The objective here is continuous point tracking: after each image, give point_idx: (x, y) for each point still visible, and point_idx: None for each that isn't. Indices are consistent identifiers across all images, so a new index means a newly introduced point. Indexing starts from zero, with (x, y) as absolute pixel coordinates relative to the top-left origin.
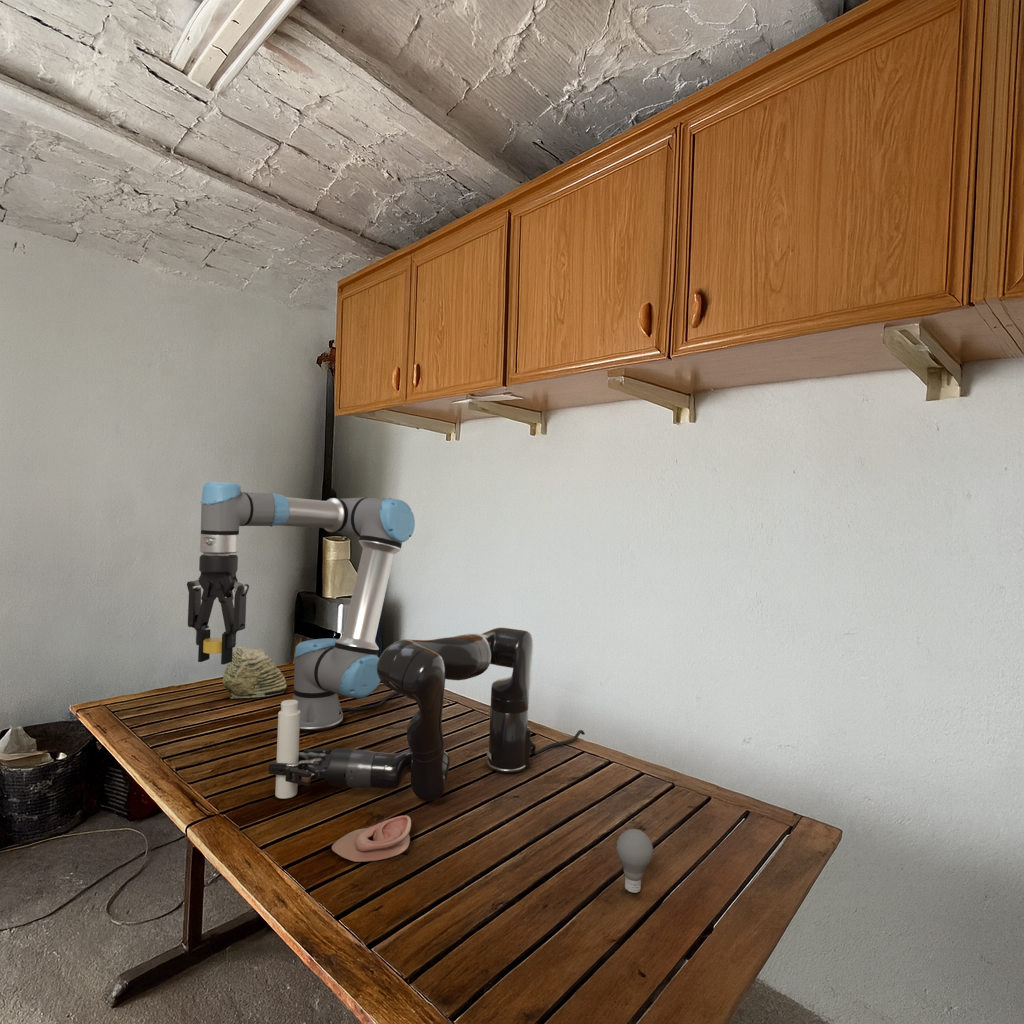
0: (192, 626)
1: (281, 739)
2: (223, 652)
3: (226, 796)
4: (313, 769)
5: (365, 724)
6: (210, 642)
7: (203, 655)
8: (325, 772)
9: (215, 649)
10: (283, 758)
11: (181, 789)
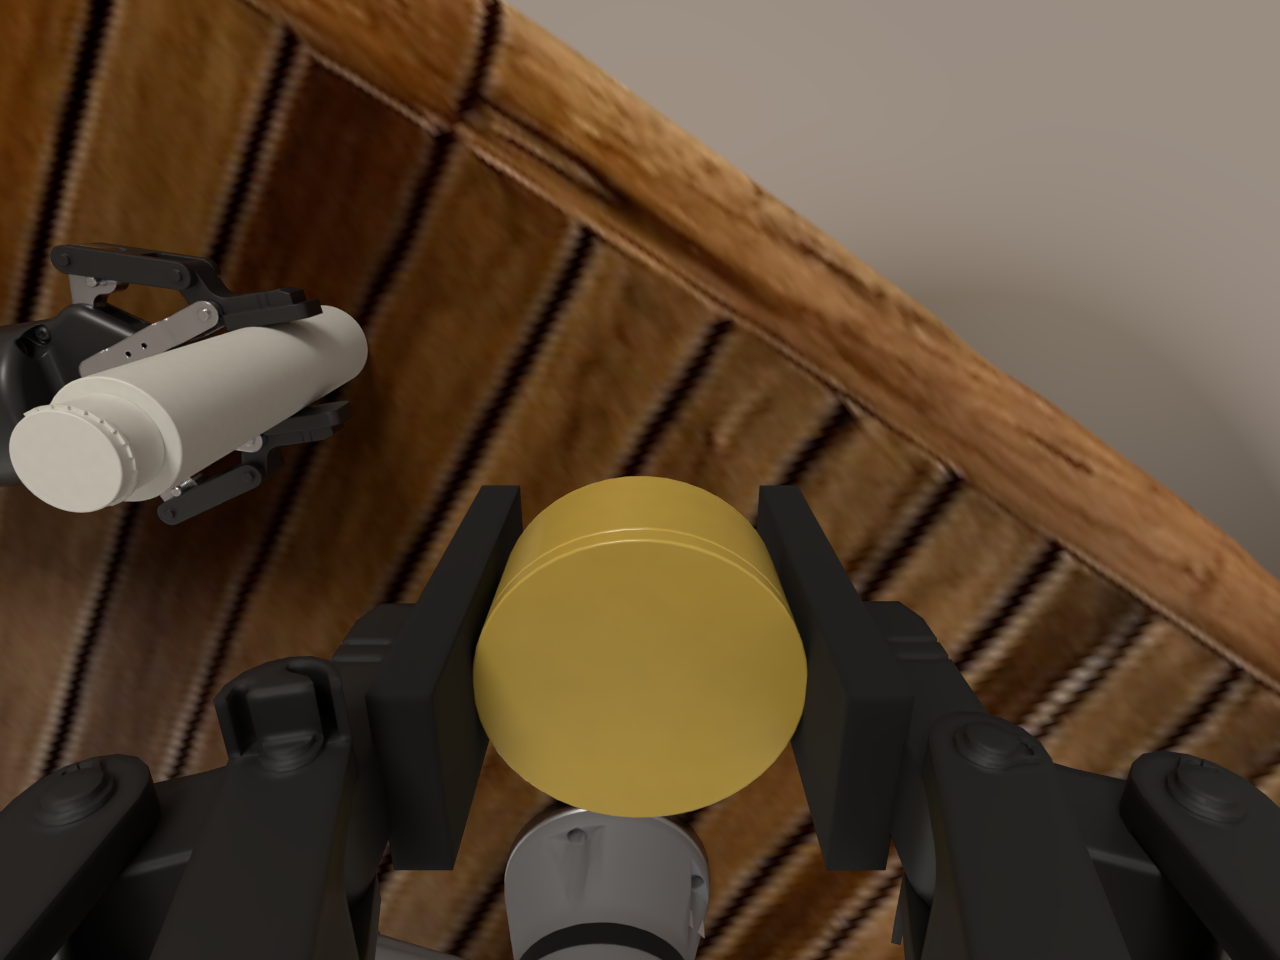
0: (1127, 782)
1: (197, 347)
2: (468, 543)
3: (521, 264)
4: (86, 312)
5: (432, 898)
6: (602, 539)
7: (769, 546)
8: (44, 321)
9: (548, 523)
10: (236, 331)
11: (721, 266)
